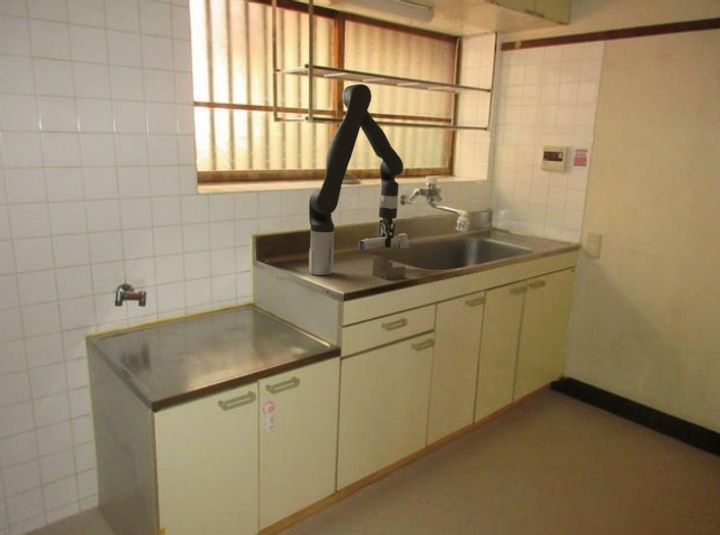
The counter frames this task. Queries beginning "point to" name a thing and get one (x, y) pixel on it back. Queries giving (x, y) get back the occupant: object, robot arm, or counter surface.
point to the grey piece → (376, 242)
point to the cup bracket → (386, 269)
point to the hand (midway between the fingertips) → (385, 246)
